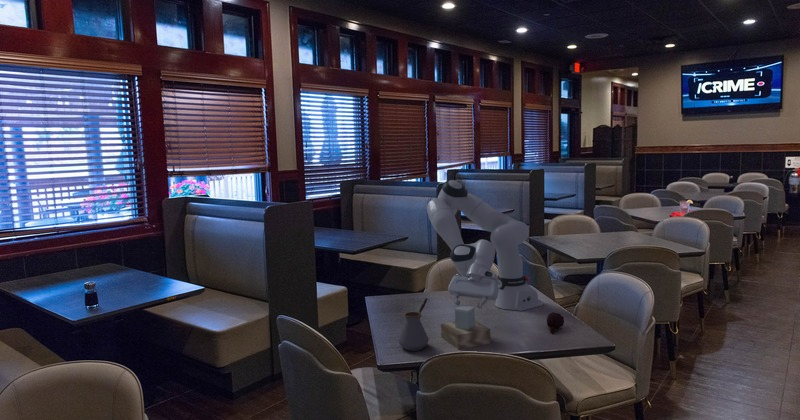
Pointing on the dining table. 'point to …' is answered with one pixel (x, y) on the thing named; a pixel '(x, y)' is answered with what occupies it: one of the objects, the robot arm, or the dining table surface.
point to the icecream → (554, 321)
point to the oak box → (465, 335)
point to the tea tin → (464, 317)
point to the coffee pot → (413, 331)
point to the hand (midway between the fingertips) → (467, 306)
